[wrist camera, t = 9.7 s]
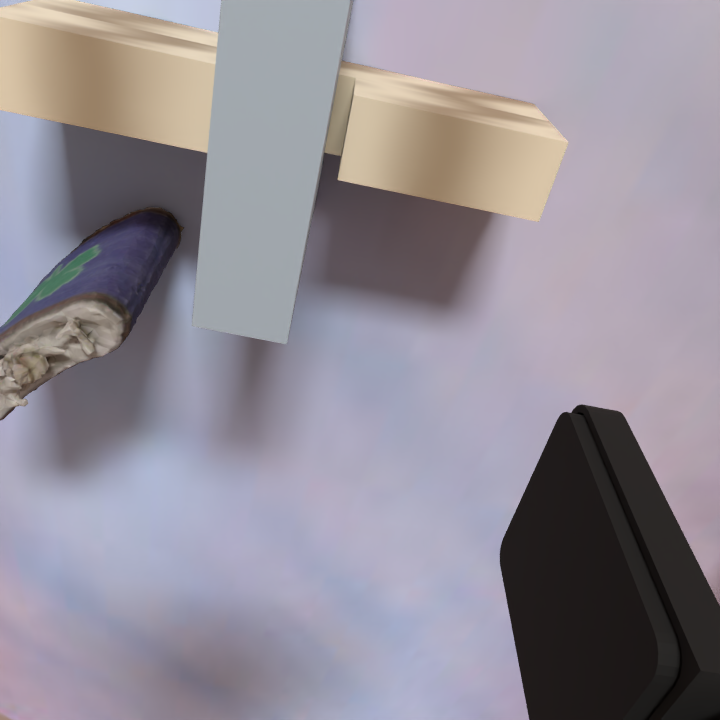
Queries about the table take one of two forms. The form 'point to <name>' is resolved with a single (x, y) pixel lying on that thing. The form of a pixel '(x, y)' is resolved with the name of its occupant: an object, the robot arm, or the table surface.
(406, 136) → the rail
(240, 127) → the flat gray plate
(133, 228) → the flask
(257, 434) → the table surface
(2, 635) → the table surface
